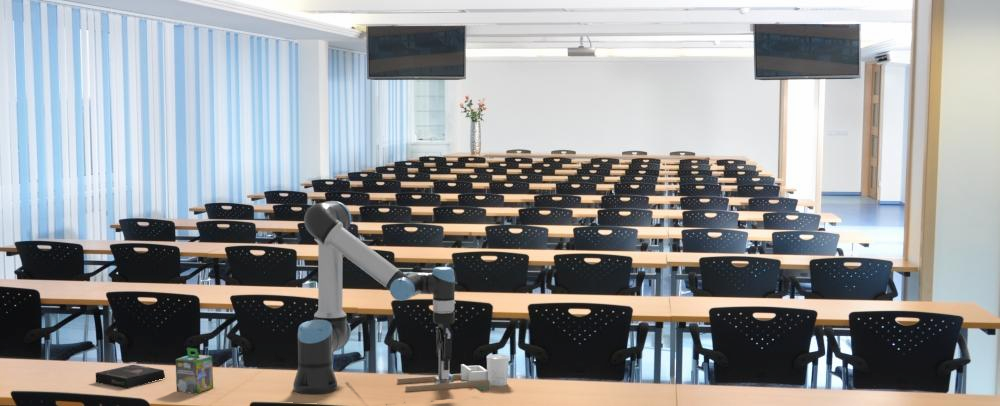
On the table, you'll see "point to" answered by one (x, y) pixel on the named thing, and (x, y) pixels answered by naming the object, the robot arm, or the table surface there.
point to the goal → (473, 373)
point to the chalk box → (194, 372)
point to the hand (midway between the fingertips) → (444, 377)
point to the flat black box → (129, 376)
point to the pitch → (476, 384)
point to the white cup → (497, 369)
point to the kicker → (438, 379)
